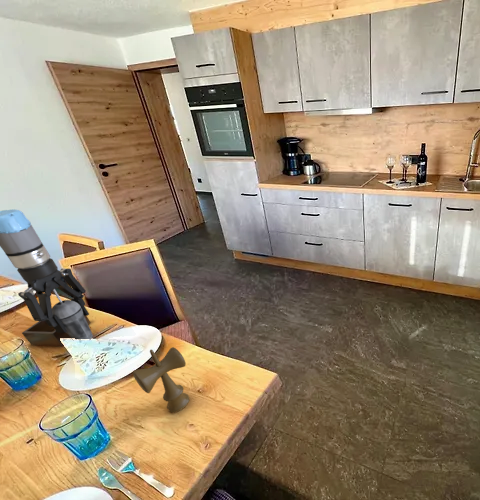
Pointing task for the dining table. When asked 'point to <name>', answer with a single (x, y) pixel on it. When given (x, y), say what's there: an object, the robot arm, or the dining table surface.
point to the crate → (45, 334)
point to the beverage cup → (72, 318)
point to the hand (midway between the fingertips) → (74, 323)
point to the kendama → (164, 379)
